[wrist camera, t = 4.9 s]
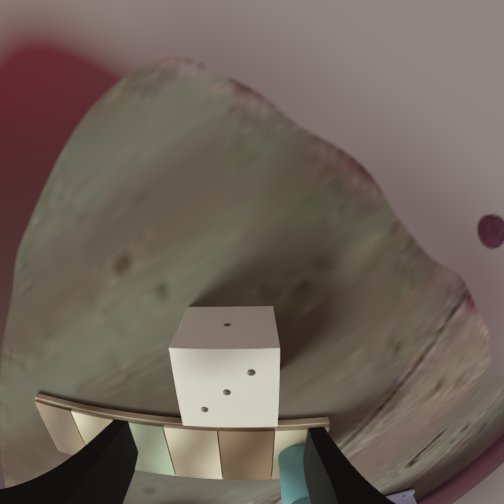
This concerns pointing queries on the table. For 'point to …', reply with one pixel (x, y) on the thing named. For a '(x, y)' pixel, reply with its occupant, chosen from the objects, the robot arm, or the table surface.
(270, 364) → the die
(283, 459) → the teal capsule cylinder
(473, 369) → the table surface
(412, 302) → the table surface
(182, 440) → the board
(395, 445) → the table surface
